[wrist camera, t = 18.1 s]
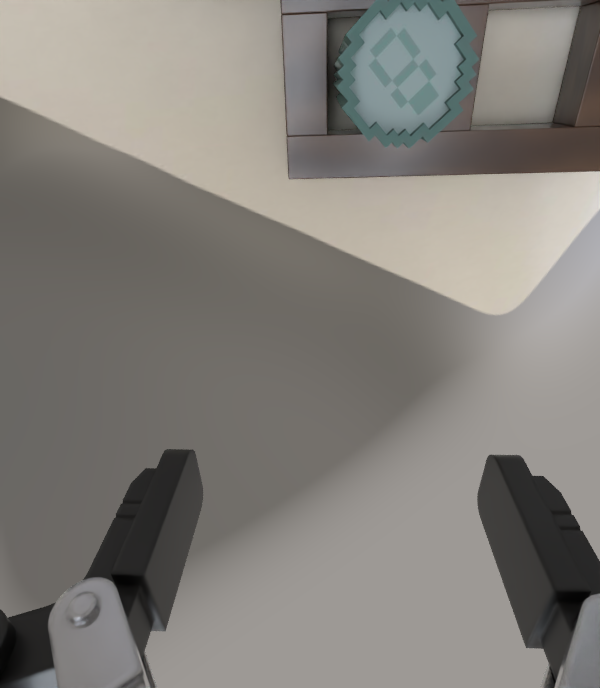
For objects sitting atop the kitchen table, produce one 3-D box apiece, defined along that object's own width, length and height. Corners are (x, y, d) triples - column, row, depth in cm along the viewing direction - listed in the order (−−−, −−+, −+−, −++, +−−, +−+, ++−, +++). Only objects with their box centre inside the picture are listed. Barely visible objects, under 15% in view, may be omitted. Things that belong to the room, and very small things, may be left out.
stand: (283, -35, 30) (278, -47, 27) (642, -55, 28) (679, -71, 25) (291, 171, 36) (288, 179, 33) (580, 163, 35) (604, 171, 32)
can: (369, 138, 35) (394, 173, 22) (318, 74, 33) (312, 72, 20) (433, 76, 32) (502, 74, 20) (381, 3, 30) (421, -52, 18)
